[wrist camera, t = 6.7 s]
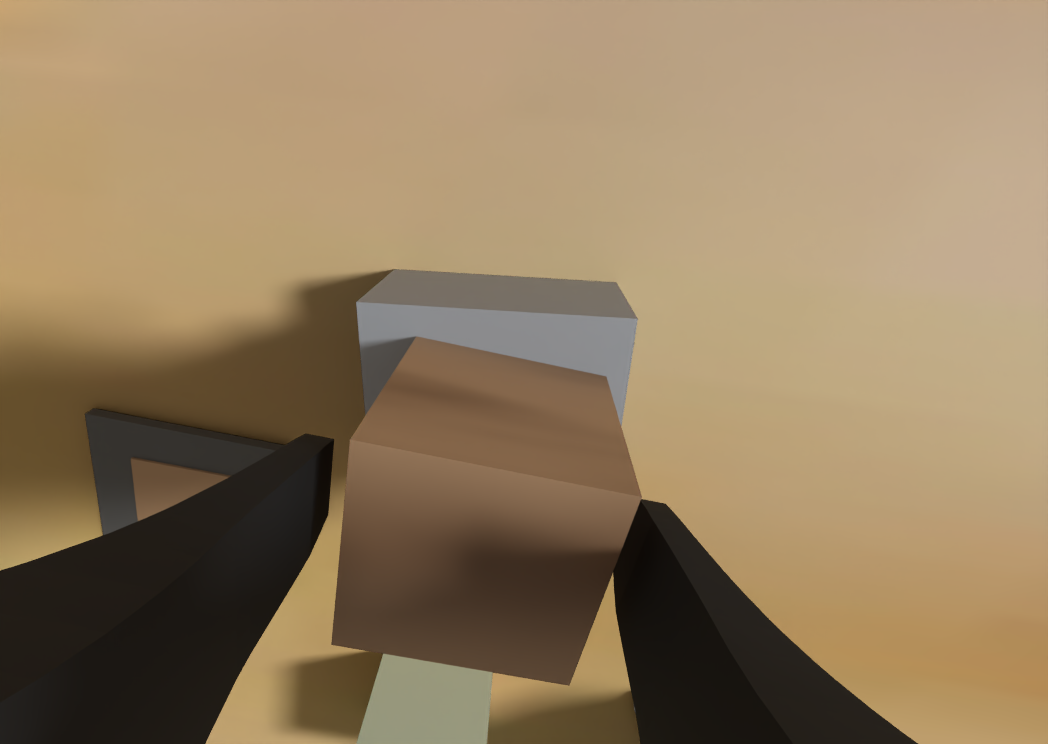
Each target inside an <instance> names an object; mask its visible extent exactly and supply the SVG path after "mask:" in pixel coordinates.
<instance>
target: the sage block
mask: <svg viewBox="0 0 1048 744" xmlns="http://www.w3.org/2000/svg"><path fill="white" fill-rule="evenodd" d="M492 674H493V672H487V671H481V670H476V669H470V668H464V667H458V666H452V665H446V664H441V663H435V662H429V661H423V660H417V659H412V658H406V657H400V656H394V655H388V654H383V656H382V660H381V663H380V666H379V670H378V673H377V676H376V680H375V683H374V686H373V690H372V693H371V696H370V700H369V703H368V706H367V710H366V713H365V717H364V720H363V723H362V727H361V730H360V733H359V737H358V740H357V743H356V744H487V736H488V724H489V712H490V699H491V687H492Z"/></svg>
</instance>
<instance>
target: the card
mask: <svg viewBox="0 0 1048 744" xmlns="http://www.w3.org/2000/svg"><path fill="white" fill-rule="evenodd" d="M85 418H86V425H87V431H88V438H89V445H90V451H91V458H92V464H93V471H94V478H95V484H96V491H97V497H98V504H99V510H100V517H101V524H102V530H103V535H105V534H108V533H111V532H113V531H116V530H118V529H120V528H123V527H125V526H128V525H130V524H132V523H135V522H137V521H140V520H142V519H145V518H147V517H149V516H151V515H154V514H156V513H158V512H160V511H163V510H165V509H167V508H169V507H171V506H173V505H175V504H177V503H179V502H181V501H183V500H185V499H187V498H189V497H191V496H193V495H195V494H197V493H199V492H201V491H203V490H205V489H207V488H209V487H211V486H213V485H215V484H217V483H219V482H221V481H223V480H225V479H227V478H229V477H230V476H232V475H234V474H236V473H237V472H239V471H241V470H243V469H245V468H246V467H248V466H250V465H252V464H254V463H255V462H257V461H259V460H261V459H262V458H264V457H266V456H267V455H269V454H271V453H273V452H274V451H276V450H278V449H279V448H281V447H283V446H285V445H281V444H276V443H270V442H265V441H260V440H255V439H250V438H244V437H239V436H234V435H229V434H224V433H219V432H213V431H208V430H203V429H198V428H193V427H187V426H182V425H177V424H172V423H167V422H162V421H156V420H151V419H146V418H141V417H136V416H130V415H125V414H120V413H115V412H110V411H105V410H99V409H92V410H90V411H89V412H87V413H85Z"/></svg>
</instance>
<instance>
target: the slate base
mask: <svg viewBox="0 0 1048 744" xmlns="http://www.w3.org/2000/svg"><path fill="white" fill-rule="evenodd" d="M356 307H357V319H358V331H359V344H360V356H361V368H362V381H363V393H364V405H365V415H366V414H367V412H368V411H369V409H370V408H371V406H372V405H373V403H374V402H375V400H376V398H377V397H378V395H379V394H380V392H381V391H382V389H383V388H384V386H385V384H386V383H387V381H388V380H389V378H390V377H391V375H392V374H393V372H394V371H395V369H396V367H397V366H398V364H399V363H400V361H401V360H402V358H403V357H404V355H405V353H406V352H407V350H408V349H409V347H410V346H411V344H412V343H413V341H414V340H415V338H416V336H417V337H422V338H427V339H432V340H436V341H441V342H446V343H451V344H455V345H460V346H465V347H469V348H474V349H479V350H484V351H488V352H493V353H498V354H503V355H507V356H512V357H517V358H521V359H526V360H531V361H536V362H540V363H545V364H550V365H555V366H559V367H564V368H569V369H573V370H578V371H583V372H588V373H592V374H597V375H602V376H606V377H607V380H608V384H609V387H610V390H611V394H612V397H613V401H614V404H615V407H616V411H617V414H618V418H619V421H620V424H621V425H622V419H623V412H624V405H625V399H626V392H627V386H628V379H629V372H630V366H631V359H632V353H633V346H634V339H635V333H636V326H637V320H638V319H637V317H636V315H635V314H634V312H633V310H632V308H631V307H630V305H629V303H628V302H627V300H626V298H625V296H624V295H623V293H622V291H621V290H620V288H619V286H618V284H617V283H616V282H601V281H584V280H568V279H551V278H534V277H517V276H500V275H484V274H467V273H450V272H433V271H416V270H399V269H394V270H393V271H392V272H391V273H389V274H388V275H387V276H386V277H385V278H384V279H382V280H381V281H380V282H379V283H378V284H377V285H375V286H374V287H373V288H372V289H371V290H370V291H368V292H367V293H366V294H365V295H364V296H363V297H361V298H360V299H359V300H358V301H357V302H356Z"/></svg>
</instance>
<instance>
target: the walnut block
mask: <svg viewBox="0 0 1048 744" xmlns="http://www.w3.org/2000/svg"><path fill="white" fill-rule="evenodd" d="M641 498H642V496H641V493H640V489H639V486H638V482H637V479H636V476H635V472H634V469H633V465H632V462H631V459H630V455H629V452H628V448H627V445H626V442H625V438H624V435H623V431H622V428H621V424H620V421H619V418H618V414H617V411H616V407H615V404H614V401H613V397H612V394H611V390H610V387H609V384H608V380H607V377H606V376H602V375H597V374H592V373H588V372H583V371H578V370H573V369H569V368H564V367H559V366H555V365H550V364H545V363H540V362H536V361H531V360H526V359H521V358H517V357H512V356H507V355H503V354H498V353H493V352H488V351H484V350H479V349H474V348H469V347H465V346H460V345H455V344H451V343H446V342H441V341H436V340H432V339H427V338H422V337H417V336H416V338H415V340H414V341H413V343H412V344H411V346H410V347H409V349H408V350H407V352H406V353H405V355H404V357H403V358H402V360H401V361H400V363H399V364H398V366H397V367H396V369H395V371H394V372H393V374H392V375H391V377H390V378H389V380H388V381H387V383H386V384H385V386H384V388H383V389H382V391H381V392H380V394H379V395H378V397H377V398H376V400H375V402H374V403H373V405H372V406H371V408H370V409H369V411H368V412H367V414H366V415H365V417H364V419H363V420H362V422H361V423H360V425H359V426H358V428H357V429H356V431H355V433H354V434H353V436H352V437H351V439H350V445H349V456H348V467H347V478H346V489H345V500H344V511H343V522H342V534H341V545H340V556H339V567H338V578H337V589H336V600H335V611H334V622H333V633H332V644H331V645H336V646H342V647H347V648H353V649H359V650H365V651H371V652H377V653H382V654H388V655H394V656H400V657H406V658H412V659H417V660H423V661H429V662H435V663H441V664H446V665H452V666H458V667H464V668H470V669H476V670H481V671H487V672H493V673H499V674H505V675H510V676H516V677H522V678H528V679H534V680H540V681H545V682H551V683H557V684H563V685H570V682H571V680H572V677H573V675H574V672H575V669H576V667H577V664H578V662H579V659H580V656H581V654H582V651H583V649H584V646H585V643H586V641H587V638H588V636H589V633H590V630H591V628H592V625H593V623H594V620H595V617H596V615H597V612H598V610H599V607H600V604H601V602H602V599H603V597H604V594H605V591H606V589H607V586H608V584H609V581H610V578H611V576H612V573H613V571H614V568H615V565H616V563H617V560H618V558H619V555H620V552H621V550H622V547H623V545H624V542H625V539H626V537H627V534H628V532H629V529H630V526H631V524H632V521H633V519H634V516H635V513H636V511H637V508H638V506H639V503H640V500H641Z"/></svg>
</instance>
